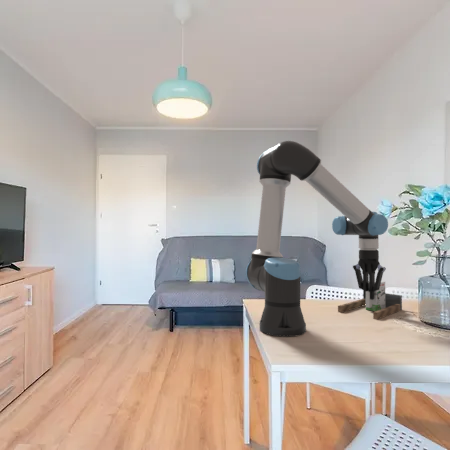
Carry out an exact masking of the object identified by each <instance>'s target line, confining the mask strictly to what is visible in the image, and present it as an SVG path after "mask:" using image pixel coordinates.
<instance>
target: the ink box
mask: <svg viewBox="0 0 450 450" xmlns="http://www.w3.org/2000/svg"><path fill="white" fill-rule="evenodd" d="M375 281H376V279H375ZM385 293H386V281H385V280H381V284H380V288H379V290H376V291H375V292H374V299H373V300H372V307H371V308H367V307H366V306H365V310H367V311H370V310H371V311H372V312H375V311H378V310H381V309H384V308H386V307H385Z"/></svg>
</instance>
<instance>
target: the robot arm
mask: <svg viewBox="0 0 450 450" xmlns="http://www.w3.org/2000/svg"><path fill="white" fill-rule="evenodd" d="M256 170H257V173H258V175H259V183H260V184H261V185H262V193H261V202H260V211H259V219H258V229H257V240H256V249H254V250H253V251H252V253H251V257H250V261H249V262H248V263H247V265H246V267H245V278H246V280H247V282H248V284H249V285H250V286H251V287H253V288H254V289H255V290H257V291H262V292H264V307H263V311H262V314H261V317H260V320H259V331H260V332H261V333H263V334H266V335H269V336H270V335H271V336H275V337H297V336H302V335H304V334H305V333H306V332H307V327H306V326H307V324H306V321H305V318H304V315H303V311H302V308H301V307H302V306H301V276H302V272H301V265H300V262H298V261H297V260H295V259H293V258H286V257H284V256H283V254H282V253H281V252H280V248H281V239H282V238H281V237H282V228H283V218H284V209H285V201H286V199H285V198H286V190H287V187H289V186H290V185H291V180H292V176H294V177H296V178H298V179H299V180H300V181H301V182H302V181H304V182H306V183H307V184H308V185H309V186H311V187H312V189H314V190H315V191H316V192H317V193H319V194H320V195H321V196H322V197H323V198H324V199H326V201H328V202H329V203H330V204H331V205H332V206H333V207H334V209H336V210H337V211H339V213H341V214H342V216H341V215H340V216H339V215H338V216H336V217H334V219H333V220H332V224H331V225H332V226H331V228H332V231H333V233H334V234H336V235H338V236H358V248H359V250H358V261H357V263H356V264H355V265H354V264H353V265H352V269H353V270H354V273H355V278H356V280H357V281H356V282H357V285H358V289H360V290H362V292H363V291H364V298H365V299H366V305H365V308H366V307H367V308H371V307H372V300H373V299H374V292H375V291H376V290H379V288H380V284H381V281H383V280H382V278H383V276H384V272H386V267H385V266H382V265H381V264H380V261H379V259H380V256H379V250H378V249H379V236H381V235H383V234H385V233H386V232H387V231H388V227H389V221H388V219H387V217H386V216H385V215H384V214H379V213H378V212H376V211H371V209H369V208H368V207H367V206H366V205H365V204H364V203H363V202H362V200H360V199H359V198H358V197H356V196H355V194H354V193H352V192H351V191H350V190H349V188H347V187H346V186H345V185H344V184H343V183H341V182H340V180H338V179H337V178H336V177H335V176H334V175H333V174H332V173H331V172H330V170H328V169H327V168H326V167H325V166H323V164H322V159H320V158H319V156H317V155H316V154H315V153H314V152H313V151H312V150H310V149H309V148H307V146H305V145H303V144H301V143H298V142H297V141H293V140H292V141H291V140H284V141H281V142H279V143H278V144H276V145H275V146H273V147H269V148H267V149H266V150H264V152H262V153H261V155H260V156H259V157H258V160H257V161H256ZM361 270H362V271H361ZM376 271H377V274H376ZM375 277H376V278H375ZM375 280H376V281H375Z"/></svg>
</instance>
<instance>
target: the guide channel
mask: <svg viewBox="0 0 450 450" xmlns="http://www.w3.org/2000/svg"><path fill="white" fill-rule="evenodd" d="M362 293H363V295H362V298H361V299H358V300H357V299H356V300H354V301H351V302H347V303H343V304H340V305H337V313H344V312H349V311H351V310H354V308H355V309H357V307H358V308H360V307H359V306H361V307H363V306H362V305H364V306H366V305H365V304H366V299H365V298H364V291H363V290H362ZM385 307H386V308H384V309H381V310H378V311H372V314H373V315H372V316H373V317H372V319H374V320H379V319H381V318H385V317H387V316H390V315H392V314H395V313H397V312H401V311H402V310H403V296H402V295H400V294H394V293H393V294H392V293H387V292H385Z"/></svg>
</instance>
